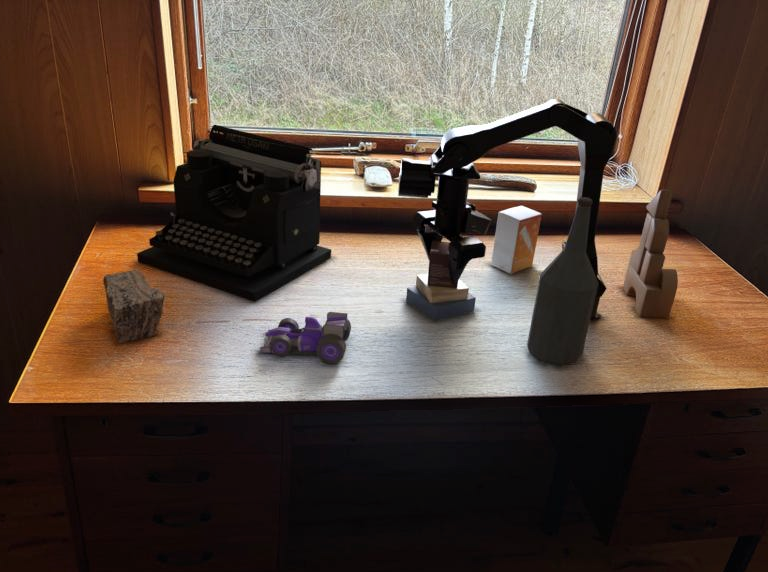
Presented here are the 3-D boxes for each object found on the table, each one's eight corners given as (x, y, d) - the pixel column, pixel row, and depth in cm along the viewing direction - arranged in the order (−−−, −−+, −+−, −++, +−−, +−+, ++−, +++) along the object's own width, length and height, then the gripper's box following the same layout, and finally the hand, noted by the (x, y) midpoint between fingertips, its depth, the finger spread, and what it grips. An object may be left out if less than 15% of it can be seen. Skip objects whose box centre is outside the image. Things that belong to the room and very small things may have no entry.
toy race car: (270, 330, 137) (269, 299, 134) (350, 338, 137) (352, 307, 134) (258, 357, 129) (257, 324, 126) (343, 365, 129) (344, 333, 126)
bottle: (569, 373, 133) (605, 214, 117) (519, 356, 137) (547, 199, 121) (587, 349, 141) (623, 197, 125) (539, 334, 144) (568, 184, 129)
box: (458, 276, 151) (462, 243, 147) (457, 289, 146) (461, 255, 142) (429, 273, 151) (432, 239, 148) (426, 286, 146) (429, 251, 142)
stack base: (474, 310, 151) (475, 297, 149) (435, 321, 145) (436, 308, 144) (444, 291, 157) (445, 278, 156) (405, 300, 152) (406, 287, 151)
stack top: (467, 299, 148) (469, 288, 147) (430, 303, 145) (432, 292, 144) (451, 282, 154) (452, 271, 153) (415, 285, 152) (416, 274, 150)
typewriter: (137, 261, 158) (122, 144, 144) (223, 225, 178) (216, 119, 165) (254, 302, 146) (250, 178, 133) (331, 257, 167) (333, 147, 154)
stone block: (171, 337, 132) (167, 299, 129) (118, 346, 128) (112, 307, 124) (154, 303, 143) (150, 266, 139) (104, 310, 139) (99, 273, 135)
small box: (510, 274, 167) (519, 220, 160) (489, 265, 171) (497, 211, 164) (533, 266, 172) (542, 213, 166) (512, 257, 176) (520, 204, 169)
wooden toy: (670, 318, 155) (704, 204, 142) (639, 317, 154) (670, 201, 141) (648, 286, 168) (677, 178, 155) (620, 284, 168) (646, 176, 154)
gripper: (515, 212, 136) (503, 288, 145) (462, 180, 150) (454, 251, 158) (463, 218, 132) (454, 296, 140) (414, 184, 145) (408, 258, 153)
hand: (443, 274), depth 148 cm, fingers closed on box, 8 cm apart
